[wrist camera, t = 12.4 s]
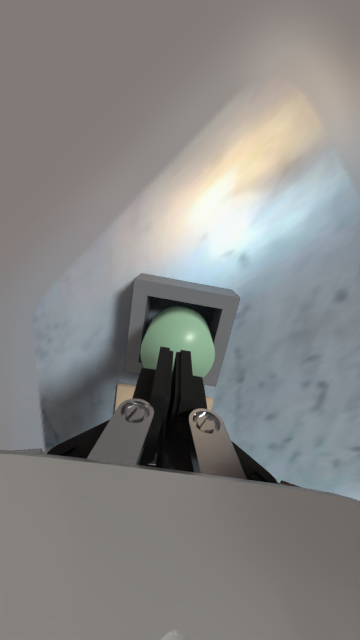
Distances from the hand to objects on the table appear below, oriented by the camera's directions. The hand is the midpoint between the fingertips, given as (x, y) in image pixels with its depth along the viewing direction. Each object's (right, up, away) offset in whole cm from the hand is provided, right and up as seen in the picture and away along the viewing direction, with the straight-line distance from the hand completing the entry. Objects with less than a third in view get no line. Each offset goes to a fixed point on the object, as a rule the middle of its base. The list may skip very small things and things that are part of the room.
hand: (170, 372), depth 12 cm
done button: (0, +2, +6) cm, 6 cm away
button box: (0, +3, +8) cm, 9 cm away
